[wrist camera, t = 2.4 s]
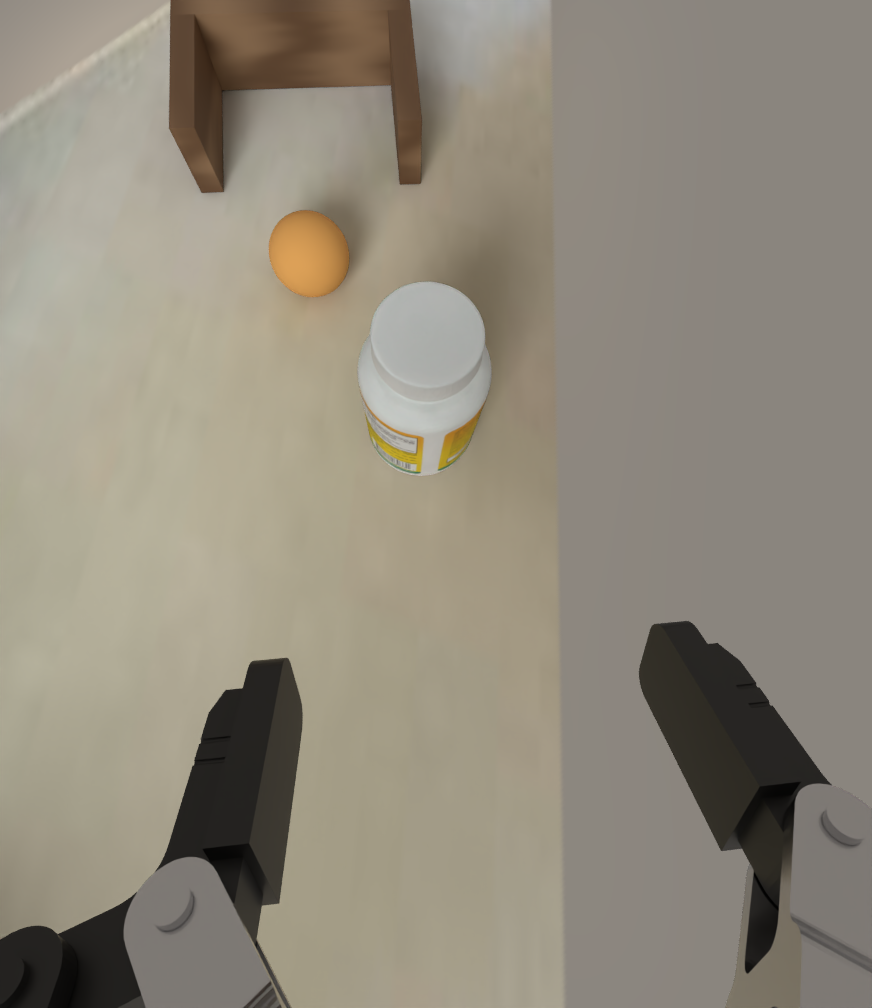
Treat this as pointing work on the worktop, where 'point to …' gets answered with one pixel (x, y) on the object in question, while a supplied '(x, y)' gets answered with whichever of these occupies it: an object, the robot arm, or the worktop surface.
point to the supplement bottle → (424, 377)
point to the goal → (286, 66)
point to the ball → (309, 253)
